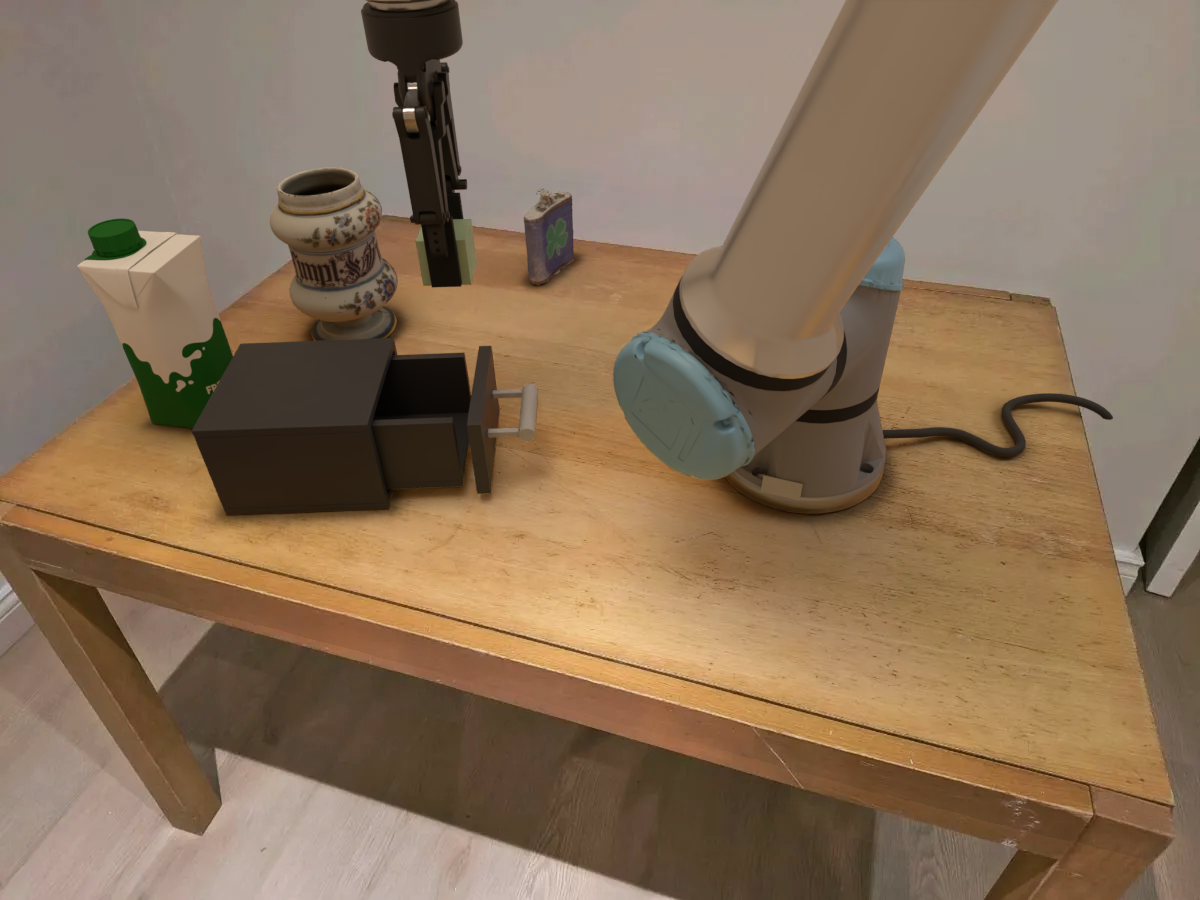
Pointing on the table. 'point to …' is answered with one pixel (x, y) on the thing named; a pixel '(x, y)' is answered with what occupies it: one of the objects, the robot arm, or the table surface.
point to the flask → (549, 236)
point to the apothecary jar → (335, 254)
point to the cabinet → (297, 427)
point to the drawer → (443, 420)
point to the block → (463, 247)
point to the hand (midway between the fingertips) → (450, 271)
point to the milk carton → (160, 315)
